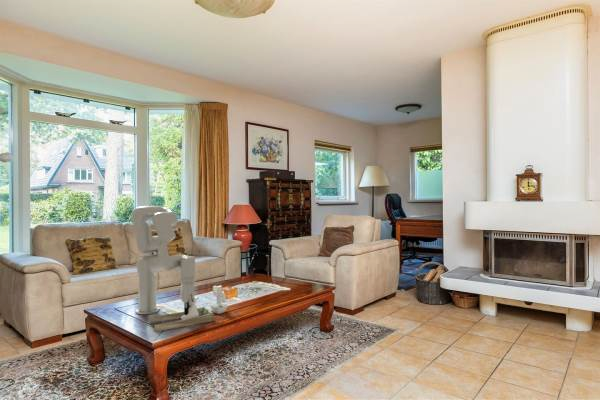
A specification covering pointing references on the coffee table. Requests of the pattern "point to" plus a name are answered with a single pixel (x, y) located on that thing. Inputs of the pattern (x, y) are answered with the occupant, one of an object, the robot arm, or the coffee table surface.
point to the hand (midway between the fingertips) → (187, 314)
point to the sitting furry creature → (191, 311)
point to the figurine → (219, 300)
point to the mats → (156, 324)
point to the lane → (199, 319)
